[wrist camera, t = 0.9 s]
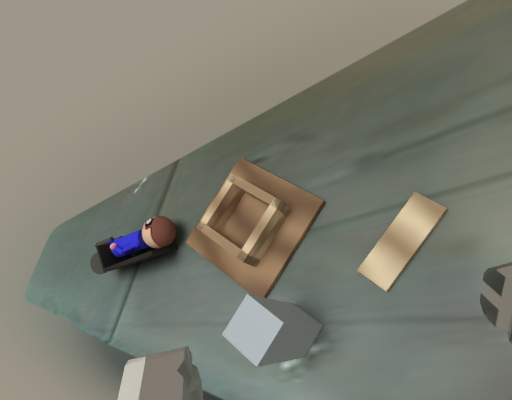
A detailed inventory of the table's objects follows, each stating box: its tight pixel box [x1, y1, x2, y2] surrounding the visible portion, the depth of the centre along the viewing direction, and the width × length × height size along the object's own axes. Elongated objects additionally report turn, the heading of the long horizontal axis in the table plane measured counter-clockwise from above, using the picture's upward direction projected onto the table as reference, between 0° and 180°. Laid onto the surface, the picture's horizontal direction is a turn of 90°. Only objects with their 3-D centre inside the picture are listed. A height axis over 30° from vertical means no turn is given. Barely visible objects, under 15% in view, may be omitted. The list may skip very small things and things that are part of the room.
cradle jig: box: [186, 158, 325, 298], centre depth 49 cm, size 16×16×5 cm
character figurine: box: [90, 216, 178, 274], centre depth 55 cm, size 8×7×15 cm
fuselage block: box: [222, 294, 323, 367], centre depth 38 cm, size 4×4×14 cm
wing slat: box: [357, 192, 447, 292], centre depth 42 cm, size 12×4×2 cm, turn 140°
